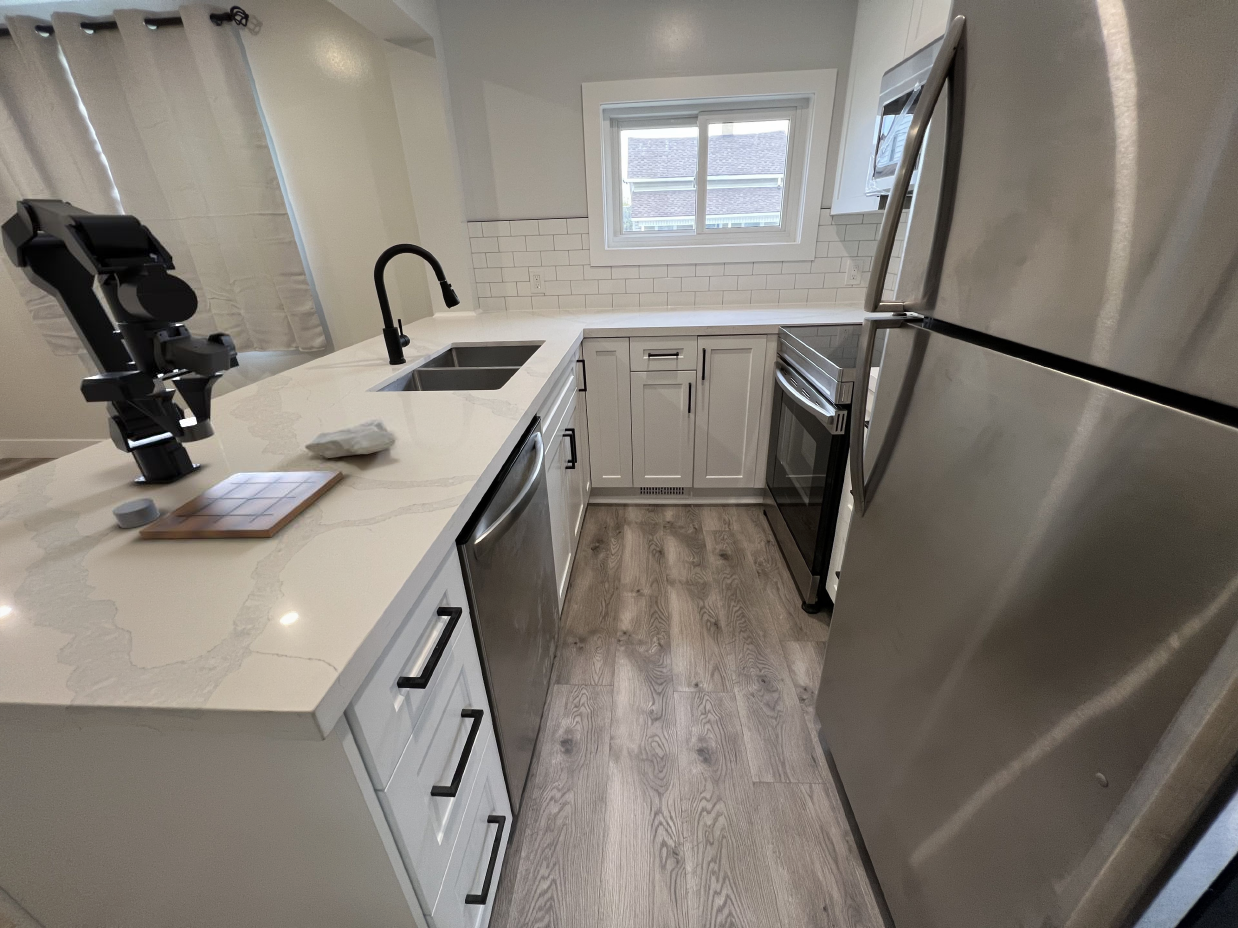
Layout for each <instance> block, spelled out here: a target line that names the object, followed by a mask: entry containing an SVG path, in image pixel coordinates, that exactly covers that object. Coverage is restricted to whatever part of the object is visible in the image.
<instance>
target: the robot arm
mask: <svg viewBox="0 0 1238 928" xmlns="http://www.w3.org/2000/svg"><path fill="white" fill-rule="evenodd" d="M15 205H16V212H15V213H14V214H13V215H12V216H11V217H9V218H8V219H7V220H6V221H4V222H3V224H1V226H0V231H1V239H2V245H3V248H4V251H5V253H6V256H7V257H8V259H9V260H10V261H11V263H12V264H13V266H14V267H15V268H20V270H21V271H22V272H23V274H24V275H25V277H26V278H27V280H28V282H29V283H30V284H32V285H33V286H35V287H37V288H38V289H40V290H41V291H43V292H44V293H47V294H48V295H50V296H51V297H53V298H54V299H55V300H56V302H57V303H58V305H59V306H60V308H61V310H62V312H63V313H64V315H65V316H66V318H67V320H68V322H69V324H70V325H71V327H72V328H73V330H74V332H75V334H76V335H77V337H78V338H79V339H78V340H79V341H80V343H81V344H82V346H83V347H84V349H85V351H86V352H87V354H88V356H89V357H90V359H91V361H92V362H93V364H94V366H95V368H96V369H97V370H98V372H99V374H98V375H93V376H90V377H85V378H83V379H82V380H81V382H80V385H79V390H80V392H81V394H82V396H83V398H84V400H85V403H104V402H105V403H106V406H105V410H106V411H107V413H108V417H107V423H108V430H109V431H108V432H109V438H110V440H111V441H112V442H113V444H114V446H115V448H116V449H117V450H119V451H122V452H124V453H127V454H130V453H131V456H132V458H133V459H134V461H135V463H136V466H137V467H138V469H139V472H140V473H141V476H140V477H138V478H136V479H134V483H135V484H163V483H164V484H168V483H173V482H175V481H177V480H179V479H180V478H182V477H184V476H186V475H188V474H190V473H192V472H194V471H195V470H197V469H200V468H201V467H202V466H201V464H200V463H193V462H192V460H191V458H190V457H191V456H190V455H189V453H188V450H187V448H186V446H184V445H183V443H179V442H177V440H176V438H175V437H183V436H184V433H183V429H182V426H181V423H180V421H181V420H185V419H186V416H185V415H186V413H185V410H184V408H182V407H180V405H179V404H177V402H176V401H173V399H174V396H175V395H176V392H177V391H178V393H179V395H180V396H181V398H182V399H183V401H184V403H185V404H186V405H187V407H188V409H189V410H190V411H191V413H192V415H193V416H194V418H195V417H208V418H209V421H210V422H211V420H212V419H211V417H212V415H211V413H212V412H211V410H212V404H211V403H212V390H213V387H214V385H215V384H216V383H217V382H218V381H219V379H221V378H223V376H224V373H223V372H222V371H225V372H227V371H229V370H230V369H234V368H237V367H240V362H239V360H238V358H237V356H238V351H236V350H237V349H236V348H237V347H236V345H235V342H234V341H233V339H232V336H231V335H230V333H226V332H222V331H219V332H213V333H211V334H209V336H208V337H206V336H205V337H204V336H203V337H195V336H193V335H192V334H191V332H190V329H189V327H187V326H186V325H185V323H183V322H186V321H188V320H190V319H191V318H192V317H193V316H194V315H195V314H196V312H197V310H198V307H199V300H198V296H197V293H196V292H195V290H194V289H193V288H192V286H190V285H189V283H188V282H186V281H185V280H183V279H182V278H180V277H178V276H177V275H173V274H171V273H168V271H175V270H176V266H175V264H174V263H173V261H174V260H173V257H174V256H173V255H171V253H170V252H169V251H168V250H167V248H166V247H165V246H164V245H163V244H162V242H160V240H159V239H158V238H157V237H156V236H155V234H153V233H152V231H151V230H150V228H149V227H148V226H147V225H145V224H142V222H141V220H140V219H139V218H138V217H136V216H135V215H133V214H110V213H109V214H108V213H107V214H104V213H103V214H101V213H100V214H99V213H98V214H96V213H94V212H91V211H88V210H86V209H83V208H80V207H77V206H75V205H73V204H72V203H71V202H69V201H64V200H62V199H59V198H58V199H57V198H55V199H54V198H22V200H16V203H15ZM96 278H97V279H96ZM95 279H96V280H97V283H98V285H99V288H100V290H101V292H102V295H103V297H104V299H105V301H106V304H107V306H108V308H109V310H110V312H111V314H112V317H113V319H114V321H115V323H116V325H115V324H114V322H113V321H112V319H111V317H110V315H109V314H108V312H107V310H106V309H105V306H104V305H103V303H102V302H101V300H100V298H99V296H98V295H97V293H96V291H95V289H94V284H95ZM179 323H182V324H179ZM116 326H117V327H118V329H117V327H116ZM168 380H169V381H171V382H172V384H173V385H174V387H175V388H172V389H171V388H169V389H167V388H166V386H165V383H164V382H165V381H168Z"/></svg>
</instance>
